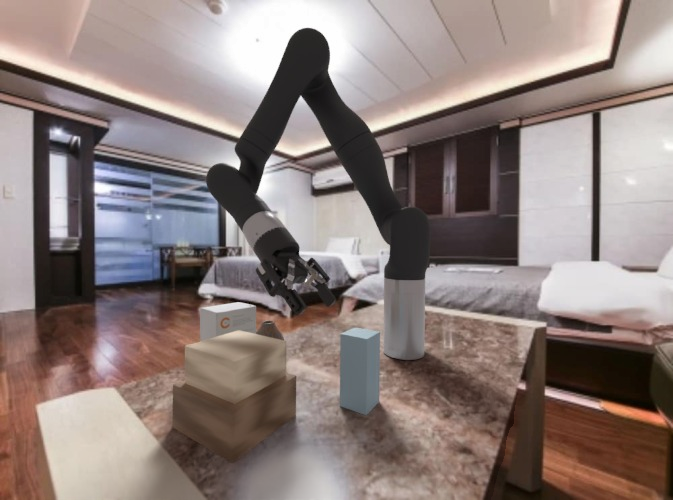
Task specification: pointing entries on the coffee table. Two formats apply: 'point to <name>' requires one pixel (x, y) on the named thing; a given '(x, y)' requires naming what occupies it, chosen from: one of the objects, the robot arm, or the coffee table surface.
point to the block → (359, 369)
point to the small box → (227, 319)
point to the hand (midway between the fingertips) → (318, 307)
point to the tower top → (235, 364)
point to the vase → (269, 330)
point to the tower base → (233, 416)
